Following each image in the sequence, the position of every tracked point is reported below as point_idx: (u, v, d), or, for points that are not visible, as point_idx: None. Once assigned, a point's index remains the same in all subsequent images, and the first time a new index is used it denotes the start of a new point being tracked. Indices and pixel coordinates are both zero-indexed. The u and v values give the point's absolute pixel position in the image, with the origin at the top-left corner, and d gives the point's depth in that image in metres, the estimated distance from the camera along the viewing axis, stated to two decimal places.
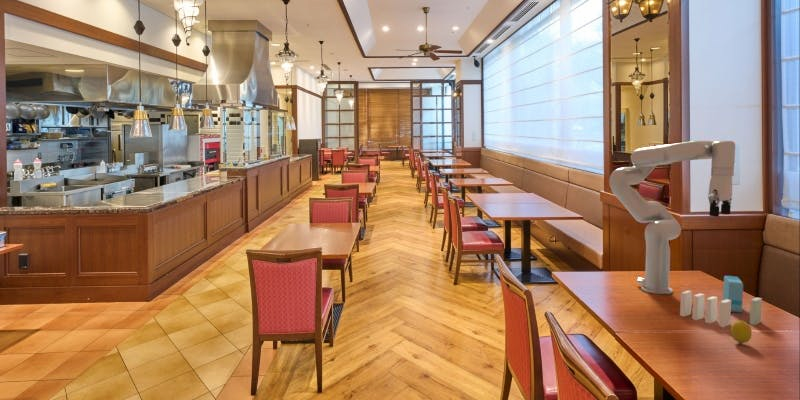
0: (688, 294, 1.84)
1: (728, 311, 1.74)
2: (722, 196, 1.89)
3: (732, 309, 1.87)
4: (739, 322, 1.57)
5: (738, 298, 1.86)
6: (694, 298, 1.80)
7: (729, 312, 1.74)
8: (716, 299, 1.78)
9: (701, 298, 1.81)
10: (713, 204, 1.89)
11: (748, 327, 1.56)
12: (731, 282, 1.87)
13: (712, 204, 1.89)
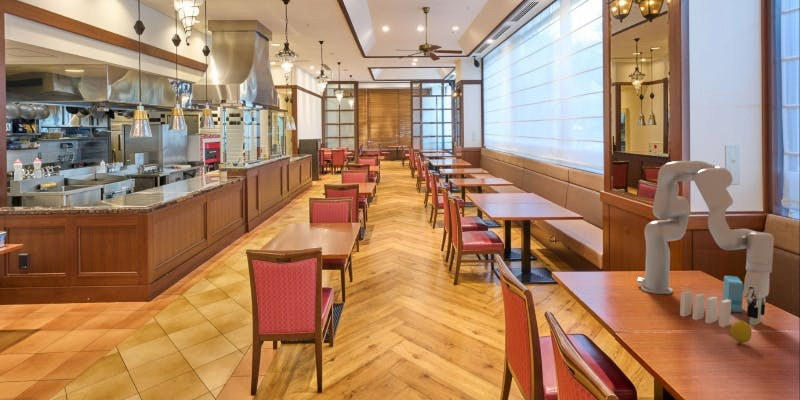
0: (688, 294, 1.84)
1: (728, 311, 1.74)
2: (759, 294, 1.71)
3: (732, 309, 1.87)
4: (739, 322, 1.57)
5: (738, 298, 1.86)
6: (694, 298, 1.80)
7: (729, 312, 1.74)
8: (716, 299, 1.78)
9: (701, 298, 1.81)
10: (751, 305, 1.73)
11: (748, 327, 1.56)
12: (731, 282, 1.87)
13: (750, 305, 1.73)
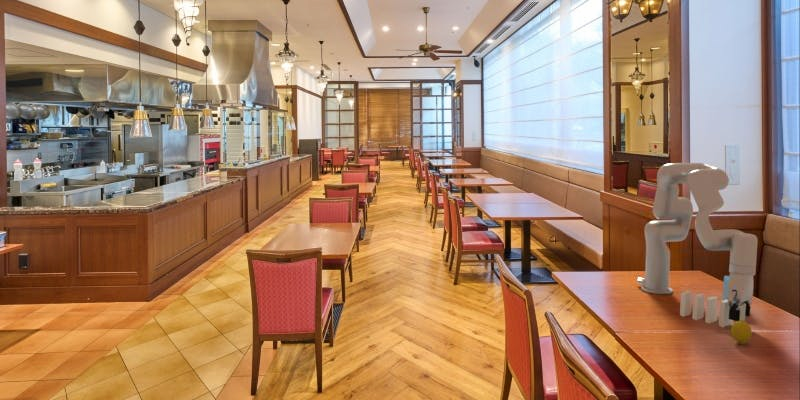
0: (688, 294, 1.84)
1: (728, 311, 1.74)
2: (742, 297, 1.66)
3: None
4: (739, 322, 1.57)
5: None
6: (694, 298, 1.80)
7: None
8: (716, 299, 1.78)
9: (701, 298, 1.81)
10: (733, 307, 1.67)
11: (748, 327, 1.56)
12: None
13: (732, 307, 1.67)
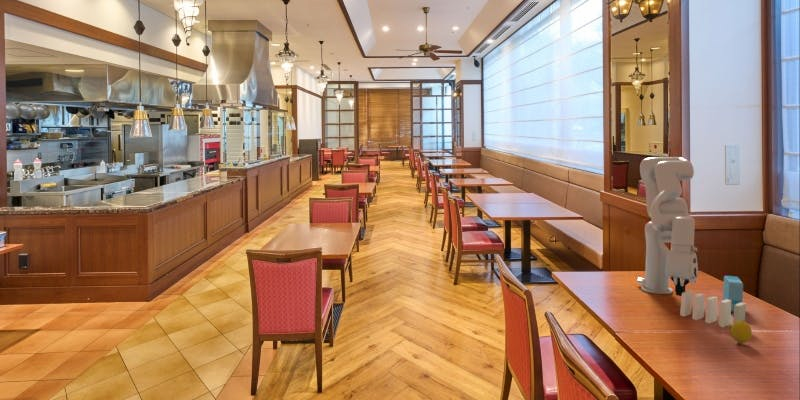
0: (689, 294, 1.84)
1: (728, 311, 1.74)
2: (668, 270, 1.88)
3: (732, 309, 1.87)
4: (739, 322, 1.57)
5: (738, 298, 1.86)
6: (694, 298, 1.80)
7: (729, 312, 1.74)
8: (716, 299, 1.78)
9: (701, 298, 1.81)
10: None
11: (748, 327, 1.56)
12: (731, 282, 1.87)
13: None
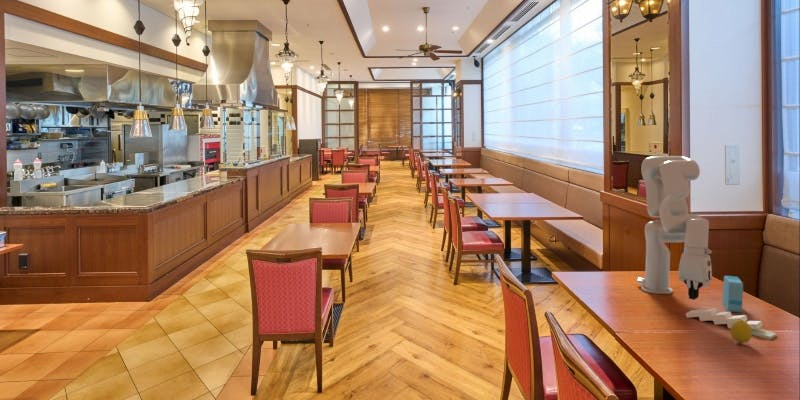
0: None
1: None
2: (681, 273, 1.84)
3: (732, 309, 1.87)
4: (739, 322, 1.57)
5: (738, 298, 1.86)
6: (722, 315, 1.73)
7: None
8: None
9: None
10: None
11: (748, 327, 1.56)
12: (731, 282, 1.87)
13: None
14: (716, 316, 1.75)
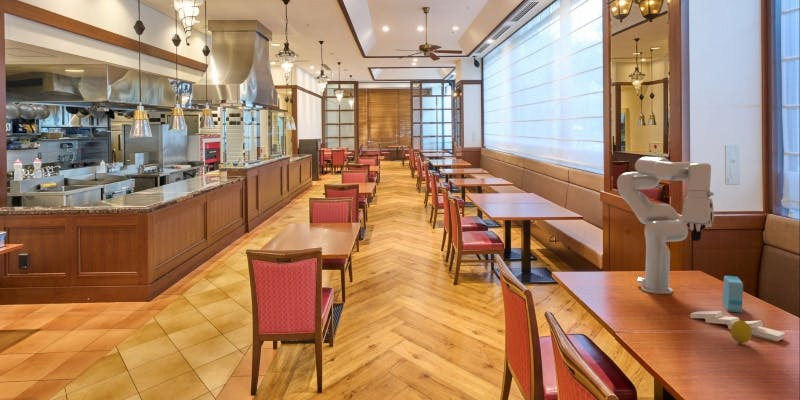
0: None
1: None
2: (684, 217, 1.93)
3: (732, 309, 1.87)
4: (739, 322, 1.57)
5: (738, 298, 1.86)
6: (727, 320, 1.71)
7: None
8: (759, 325, 1.65)
9: None
10: None
11: (748, 327, 1.56)
12: (731, 282, 1.87)
13: None
14: (722, 320, 1.73)
